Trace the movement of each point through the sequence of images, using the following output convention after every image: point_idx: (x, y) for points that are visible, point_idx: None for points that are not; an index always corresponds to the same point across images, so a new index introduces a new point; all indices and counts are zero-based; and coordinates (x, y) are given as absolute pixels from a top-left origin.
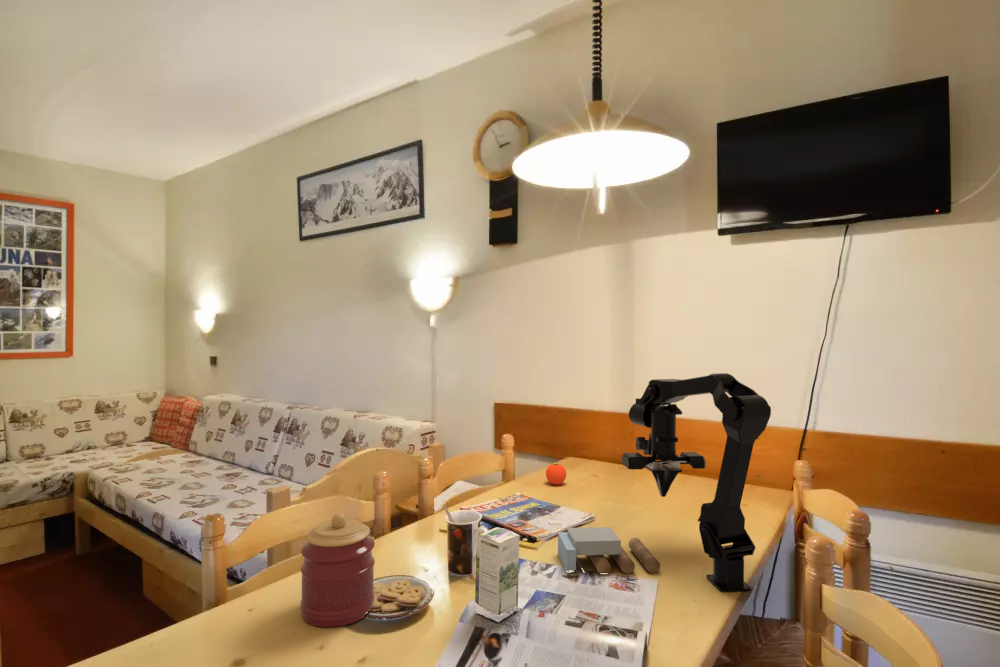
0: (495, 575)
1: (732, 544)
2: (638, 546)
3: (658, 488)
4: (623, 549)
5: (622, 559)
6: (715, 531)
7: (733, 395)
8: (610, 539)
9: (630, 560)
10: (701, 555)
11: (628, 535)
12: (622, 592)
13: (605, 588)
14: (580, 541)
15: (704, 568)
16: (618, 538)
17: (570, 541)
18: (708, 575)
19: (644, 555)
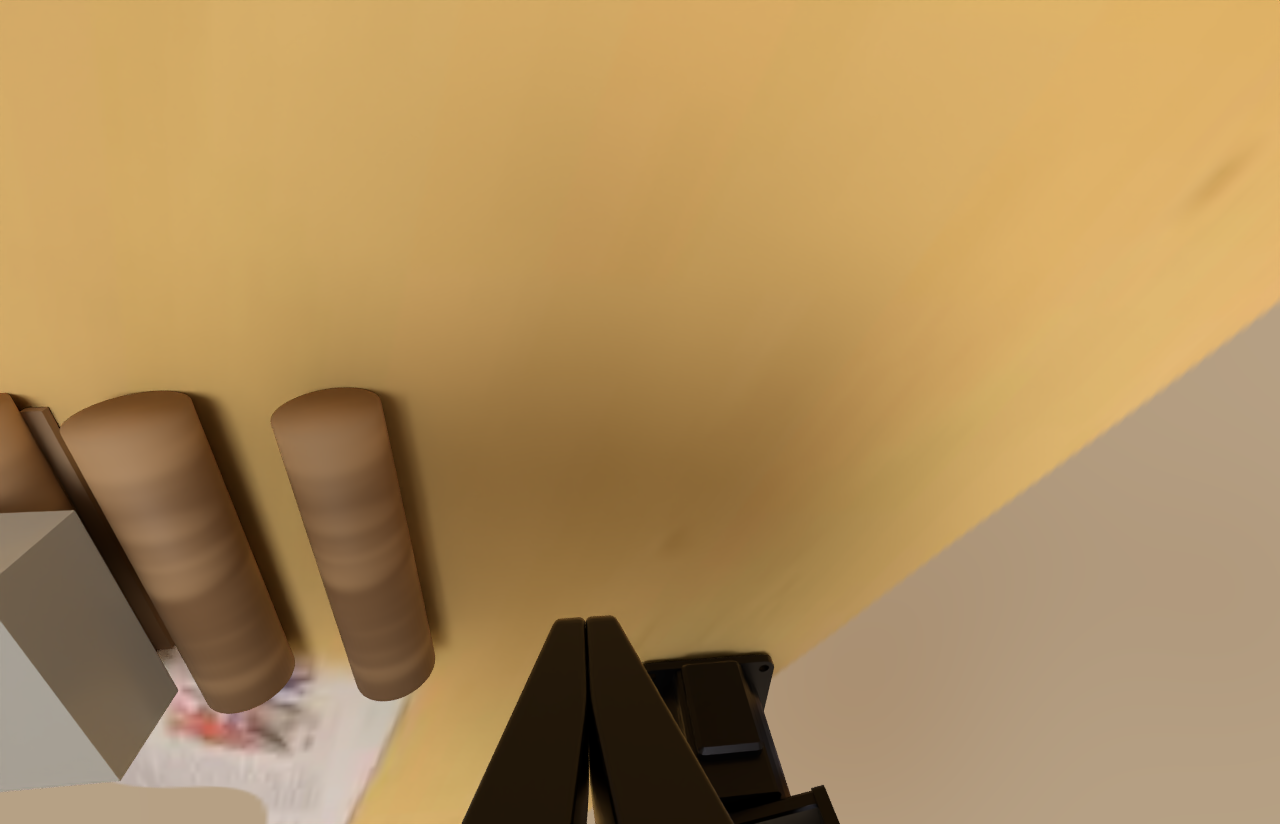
0: None
1: (806, 809)
2: (323, 558)
3: (507, 740)
4: (209, 586)
5: (202, 690)
6: None
7: None
8: (32, 775)
9: (249, 708)
10: (758, 465)
11: (328, 54)
12: (234, 759)
13: (153, 742)
14: None
15: (683, 591)
16: (98, 760)
17: None
18: (651, 673)
19: (348, 647)
